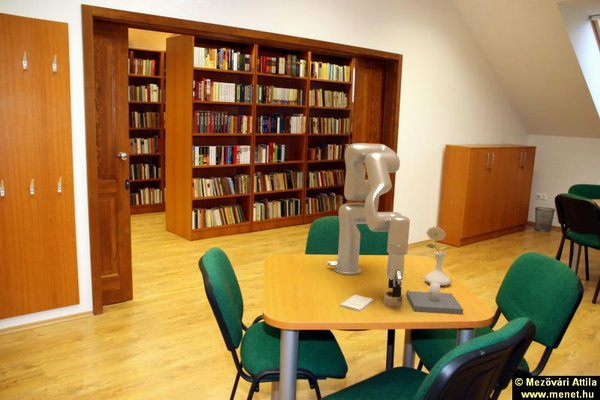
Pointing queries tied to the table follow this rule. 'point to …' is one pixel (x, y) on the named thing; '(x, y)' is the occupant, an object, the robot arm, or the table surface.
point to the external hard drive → (356, 303)
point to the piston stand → (434, 301)
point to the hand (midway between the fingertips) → (394, 292)
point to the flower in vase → (437, 274)
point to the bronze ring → (392, 300)
